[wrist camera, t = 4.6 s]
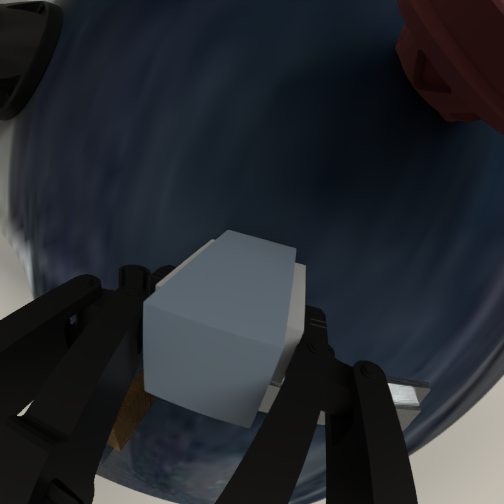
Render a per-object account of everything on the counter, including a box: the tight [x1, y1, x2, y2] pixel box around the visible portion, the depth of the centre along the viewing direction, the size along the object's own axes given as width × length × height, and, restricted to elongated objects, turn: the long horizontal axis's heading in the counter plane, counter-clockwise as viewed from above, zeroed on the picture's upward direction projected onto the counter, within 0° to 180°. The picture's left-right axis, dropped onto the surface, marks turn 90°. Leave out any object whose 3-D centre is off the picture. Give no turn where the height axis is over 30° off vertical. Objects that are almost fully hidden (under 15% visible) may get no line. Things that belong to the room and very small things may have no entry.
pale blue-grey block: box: [143, 230, 296, 429], centre depth 12 cm, size 5×4×9 cm
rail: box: [99, 288, 431, 465], centre depth 14 cm, size 30×5×12 cm, turn 77°
